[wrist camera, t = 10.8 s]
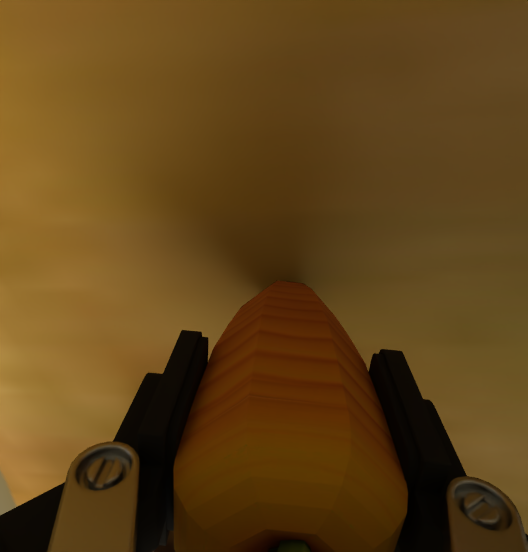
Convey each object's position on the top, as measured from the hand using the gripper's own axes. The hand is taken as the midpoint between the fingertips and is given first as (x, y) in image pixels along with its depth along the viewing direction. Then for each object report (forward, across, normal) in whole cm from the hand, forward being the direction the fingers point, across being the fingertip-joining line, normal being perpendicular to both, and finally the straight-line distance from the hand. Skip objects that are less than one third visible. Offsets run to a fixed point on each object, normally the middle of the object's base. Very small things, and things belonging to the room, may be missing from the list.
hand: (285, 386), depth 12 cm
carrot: (+7, 0, 0) cm, 7 cm away
